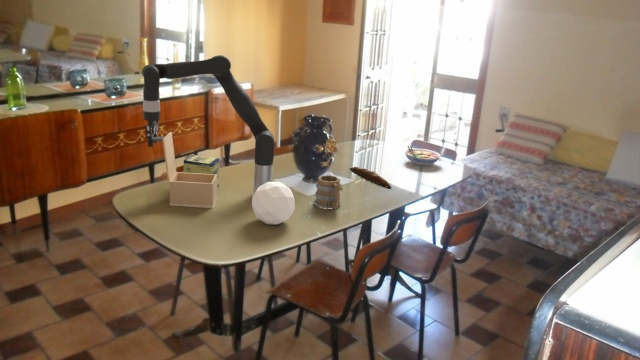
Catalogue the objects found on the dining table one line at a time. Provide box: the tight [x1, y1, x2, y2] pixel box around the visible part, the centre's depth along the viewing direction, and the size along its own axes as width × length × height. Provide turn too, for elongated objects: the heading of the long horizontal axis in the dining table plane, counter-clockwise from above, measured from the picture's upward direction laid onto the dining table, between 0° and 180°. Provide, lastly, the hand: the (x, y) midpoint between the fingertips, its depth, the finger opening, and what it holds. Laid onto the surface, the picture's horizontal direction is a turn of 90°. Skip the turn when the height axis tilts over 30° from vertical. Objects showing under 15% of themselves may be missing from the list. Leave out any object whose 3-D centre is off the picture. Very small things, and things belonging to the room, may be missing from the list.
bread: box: [349, 166, 392, 189], centre depth 322 cm, size 38×5×5 cm, turn 35°
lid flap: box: [153, 131, 177, 182], centre depth 263 cm, size 20×14×9 cm
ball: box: [251, 181, 296, 226], centre depth 250 cm, size 19×20×20 cm
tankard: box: [312, 174, 344, 209], centre depth 273 cm, size 20×13×15 cm, turn 23°
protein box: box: [183, 154, 220, 188], centre depth 286 cm, size 10×16×16 cm
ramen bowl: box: [404, 145, 441, 167], centre depth 356 cm, size 25×23×8 cm
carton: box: [169, 171, 218, 209], centre depth 268 cm, size 20×14×12 cm
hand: (152, 144), depth 261 cm, fingers open, 6 cm apart
